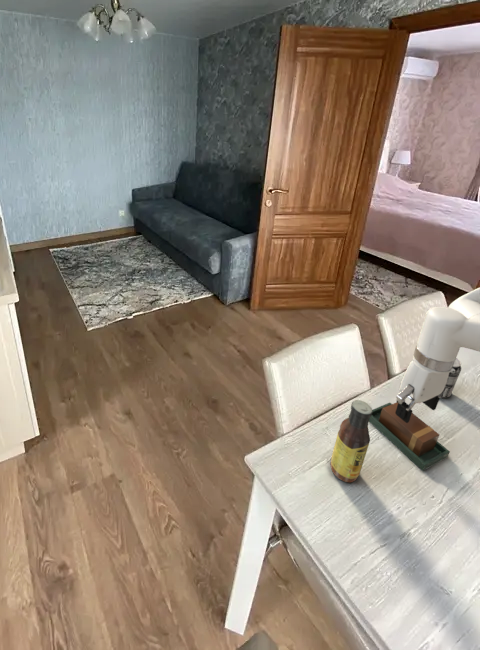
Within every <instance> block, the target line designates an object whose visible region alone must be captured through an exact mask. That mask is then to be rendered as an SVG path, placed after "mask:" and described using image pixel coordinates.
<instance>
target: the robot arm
mask: <svg viewBox="0 0 480 650" xmlns="http://www.w3.org/2000/svg"><path fill="white" fill-rule="evenodd" d="M461 348H464V349H467V350H472V351H476V352H479V353H480V287H477V288H475V289H473V290H471V291H469V292H467V293H465V294H463V295H461V296H459V297H458V298H456V299H455V300H453V301H452V302H451V303H450V304H449V305H448V307H446V306H432V307H430V308H429V309H428V310H427V311H426V313H425V315H424V319H423V321H422V325H421V329H420V332H419V336H418V339H417V342H416V345H415V348H414V351H413V355H412V360H411V361H410V362H409V364H408V366H407V368H406V369H405V372H404V375H403V377H402V379H401V382H400V384H399V387H398V391H399V393H398V394H397V395H396V396H395V398H396V399H395V401H396V402H397V403H398V405H397V409H396V412H395V414H396V415H397V416H398V417H400V418H401V419H402V420H403V421H404V422H406V423H408V422H409V420H410V417H411V414H412V413H413V410H412V409H413V408H414V407H415V405H416V404H423V405H425V406H426V407H427V408H429V409H430V410H432V411H435V410H436V409H437V407H438V404H439V401H440V399H441V398H440V396H441V395H442V392H443V390H444V389H445V385H446V383H447V381H448V380H449V378H448V376H449V373H450V372H451V371H452V368H453V365H454V362H455V360H456V358H458V354H459V351H460V349H461ZM411 395H412V396H411ZM407 398H408V399H409V400H410V402H409V404H408V403H407V402H406V400H407ZM396 402H395V403H396Z"/></svg>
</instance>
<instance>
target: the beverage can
mask: <svg viewBox="0 0 480 650" xmlns="http://www.w3.org/2000/svg"><path fill="white" fill-rule="evenodd" d="M461 371H462V362H461V360H460V359H458V357H456V360H455V362H454V365H453V368H452V371H451V372H450V373H449V376H448V378H449V380H448V381H447V383H446V385H445V389H444V390H443V392H442V395H441V396H440V397H439V398H440V399H447V398H450V397H451V395H452V393H453V391H454V389H455V386H456V384H457V381H458V378H459V376H460V374H461Z"/></svg>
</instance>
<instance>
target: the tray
mask: <svg viewBox="0 0 480 650" xmlns="http://www.w3.org/2000/svg"><path fill="white" fill-rule="evenodd" d="M391 404H392V402H387V403H385V404H383V405H380V406H378V407H375V408H372V416H371V417H370V418H369V422H368V423H370V424H372V426H373V427H374V428H376V430H378V431H379V432H380V433H381V434H382V435H383V436H384V437H386V438H387V439H388V440H389V442H391V443H392V444H393V445H394V446H395V447H396V448H397V449H399V451H401V452H402V453H403V455H405V456H406V457H407V458H408V459H409V460H410V461H411V462H412V463H413V464H415V466H416V467H418V468H419V469H420V470H421V471H422V472H423V471H425V470H427V469H429V468H431V467H432V466H435V465H436V464H438V463H440V462H441V461H443V460H445V459H447V458H448V457H449V456H450V453H451V451H450V450H448V449H447V448H446V447H445V446H444V445H443V444H442V443H440V442H439V441H438V440H437V442H436V445H435V447H434V449H432V450H431V451H429V452H427V453H425V454H423V455H421V456H419V457H418V456H417V455H416V454H415V453H413V452H412V451H411V450H410V449H409V448H408V447H407V446H406V445H405V444H403V443H402V442H401V441H400V440H399V439H398V438H397V437H396V436H395V435H393V434H392V433H391V432H390V431H389V430H388V429H387V428H386V427H385V426H384V425H382V424H381V423H380V422H379V418H380V415H381V412H382V409H383V408H384V407H387V406H389V405H391Z"/></svg>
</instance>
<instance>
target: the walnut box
mask: <svg viewBox="0 0 480 650" xmlns="http://www.w3.org/2000/svg"><path fill="white" fill-rule="evenodd" d="M397 405H398V403H397V402H393V403H391V405H389V406H387V407H384V408H383V409H382V412H381V415H380V418H379V422H380V423H381V424H382V425H384V426H385V427H386V428H387V429H388V430H389V431H390V432H391V433H392V434H393V435H395V436H396V437H397V438H398V439H399V440H400V441H401V442H402V443H403V444H405V445H406V446H407V447H408V448H409V449H410V450H411V451H412V452H413V453H415V454H416V455H417V456H418V457H419V456H421V455H423V454H425V453H427V452H429V451H431V450H432V449H434V447H435V445H436V442H437V441H438V440H439V437H440V433H439V432H437V431H436V430H435V429H434V428H432V427H431V426H430V425H428V424H427V423H426V422H425V421H424V420H422V419H421V418H419V417H418V416H417V415H416V414H415V413H413V412H412V414H411V417H410V420H409V422H408V423H406V422H404V421H403V420H402V419H401V418H400V417H398V416H397V415H396V414H395V412H396V409H397Z"/></svg>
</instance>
